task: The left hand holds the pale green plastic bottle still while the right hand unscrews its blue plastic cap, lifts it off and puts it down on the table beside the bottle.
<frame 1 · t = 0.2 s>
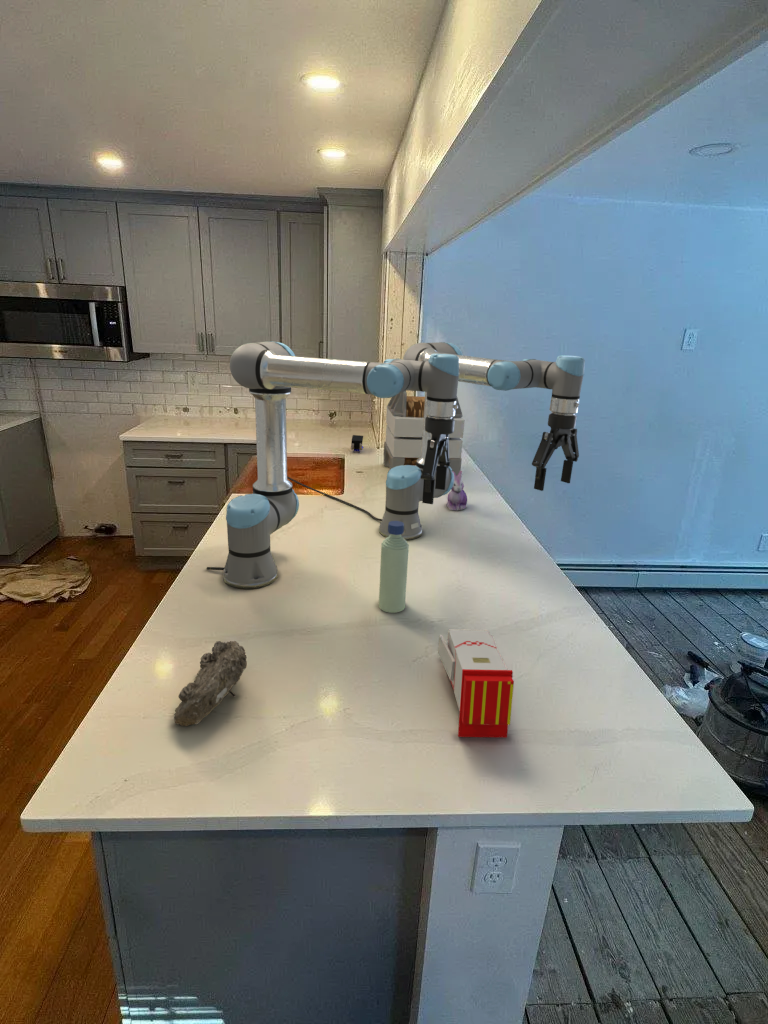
left hand: (434, 496, 152), 28 cm above the counter, tool pointing down, fingers open, 13 cm apart
right hand: (552, 485, 166), 28 cm above the counter, tool pointing down, fingers open, 13 cm apart
bottle: (391, 606, 151), on the counter
cap: (396, 524, 143), point 23 cm above the counter, screwed on, not yet turned
figurine: (456, 507, 229), on the counter
figurine character: (357, 450, 312), on the counter
fossil: (216, 694, 114), on the counter
toy: (469, 691, 119), on the counter
white slatted crate: (419, 473, 275), on the counter
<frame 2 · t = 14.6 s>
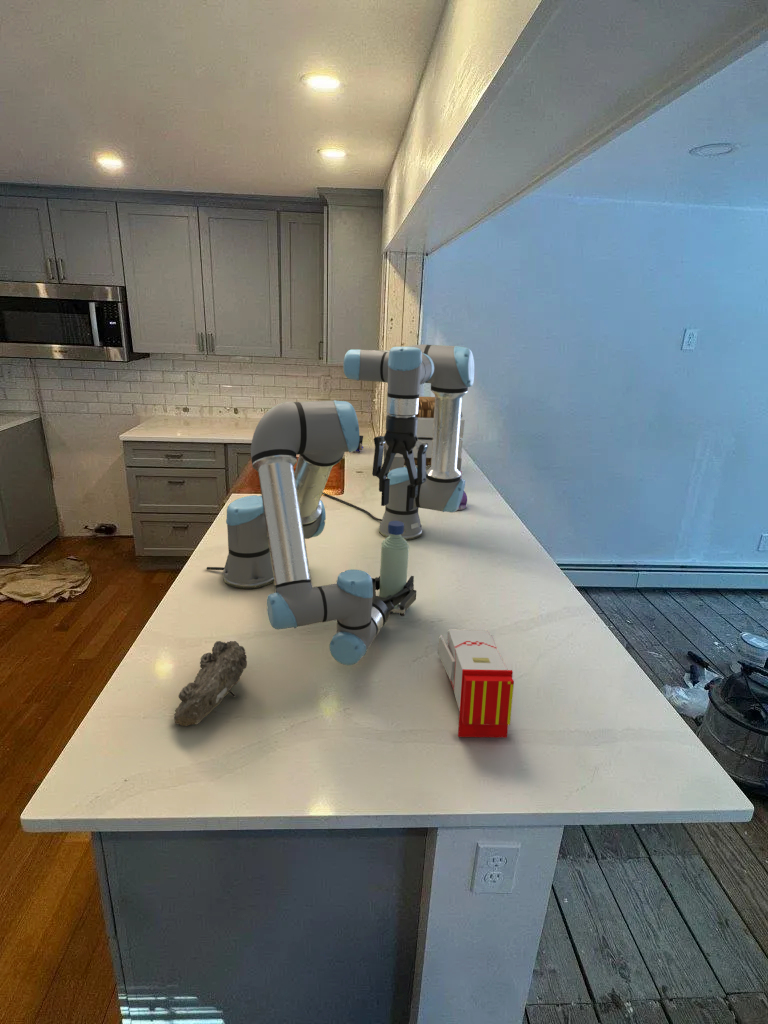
left hand: (398, 577, 154), 6 cm above the counter, tool horizontal, fingers closed on bottle, 7 cm apart
right hand: (397, 506, 142), 28 cm above the counter, tool pointing down, fingers open, 6 cm apart
bottle: (391, 606, 151), on the counter, touching left hand
everything else where it was.
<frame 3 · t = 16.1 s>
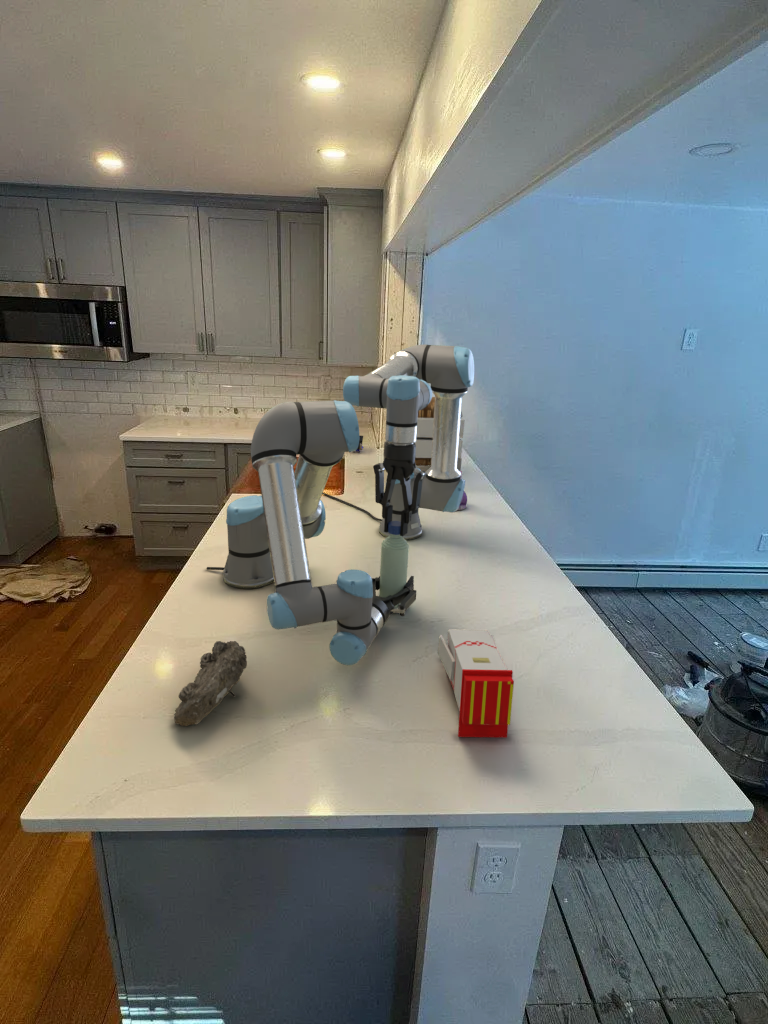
left hand: (398, 577, 154), 6 cm above the counter, tool horizontal, fingers closed on bottle, 7 cm apart
right hand: (395, 532, 144), 21 cm above the counter, tool pointing down, fingers closed on cap, 4 cm apart
bottle: (391, 606, 151), on the counter, touching left hand
cap: (396, 524, 143), point 23 cm above the counter, screwed on, not yet turned, touching right hand
everything else where it was.
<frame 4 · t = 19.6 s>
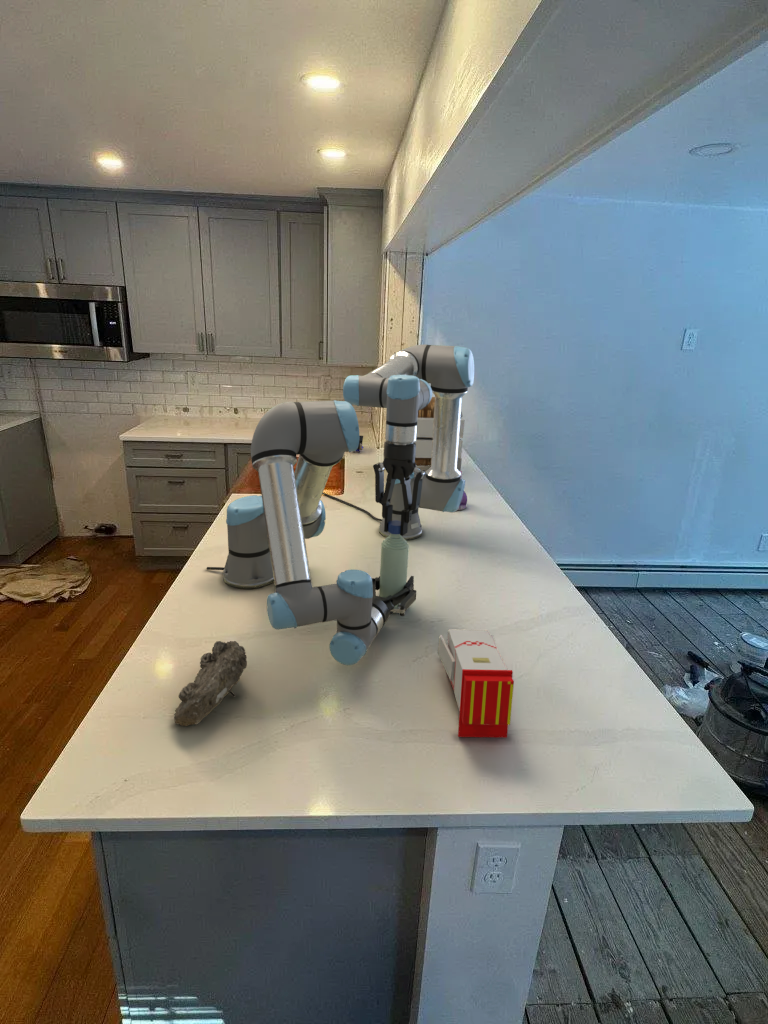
left hand: (398, 577, 154), 6 cm above the counter, tool horizontal, fingers closed on bottle, 7 cm apart
right hand: (395, 531, 144), 21 cm above the counter, tool pointing down, fingers closed on cap, 4 cm apart
bottle: (391, 606, 151), on the counter, touching left hand
cap: (396, 524, 143), point 23 cm above the counter, turned 129° so far, risen 0.1 cm, still on its thread, touching right hand
everything else where it was.
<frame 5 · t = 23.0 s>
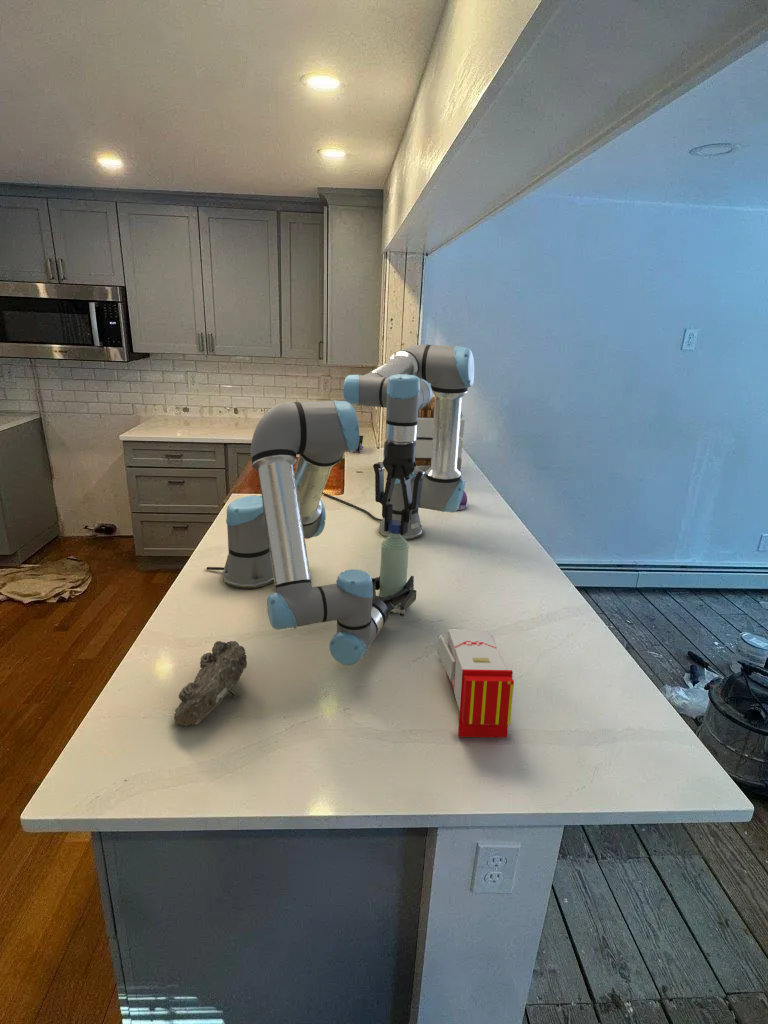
left hand: (398, 577, 154), 6 cm above the counter, tool horizontal, fingers closed on bottle, 7 cm apart
right hand: (395, 531, 144), 22 cm above the counter, tool pointing down, fingers closed on cap, 4 cm apart
bottle: (391, 606, 151), on the counter, touching left hand
cap: (396, 523, 143), point 24 cm above the counter, turned 257° so far, risen 0.3 cm, still on its thread, touching right hand
everything else where it was.
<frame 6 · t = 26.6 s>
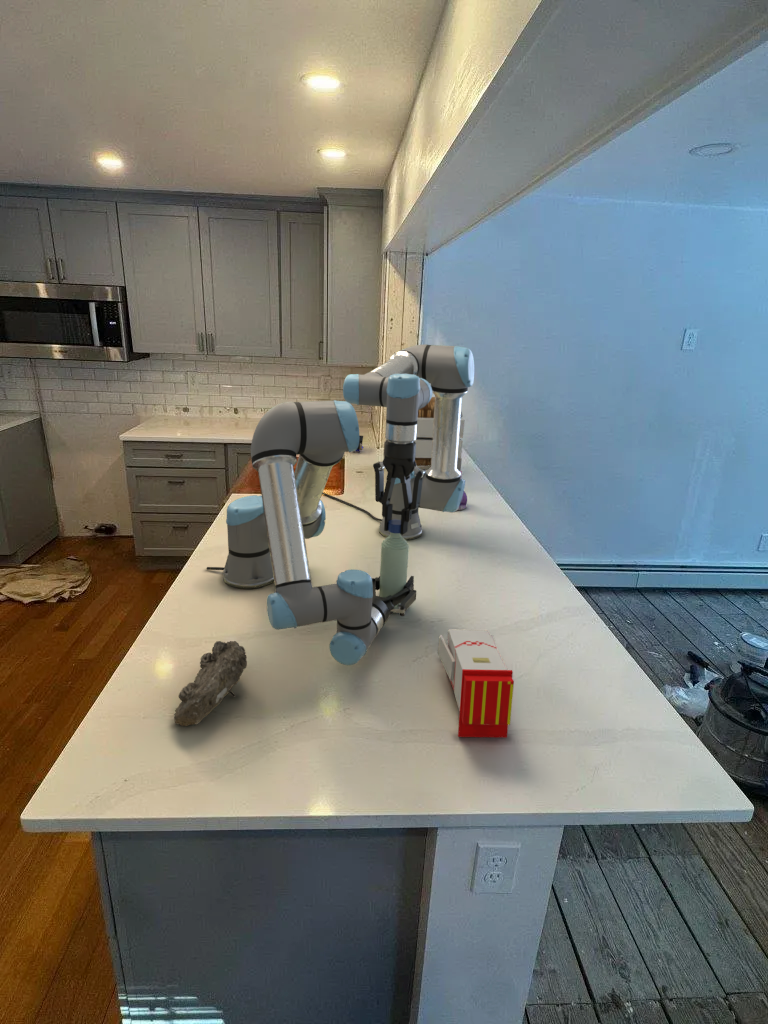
left hand: (398, 577, 154), 6 cm above the counter, tool horizontal, fingers closed on bottle, 7 cm apart
right hand: (395, 530, 144), 22 cm above the counter, tool pointing down, fingers closed on cap, 4 cm apart
bottle: (391, 606, 151), on the counter, touching left hand
cap: (396, 523, 143), point 24 cm above the counter, turned 386° so far, risen 0.4 cm, still on its thread, touching right hand
everything else where it was.
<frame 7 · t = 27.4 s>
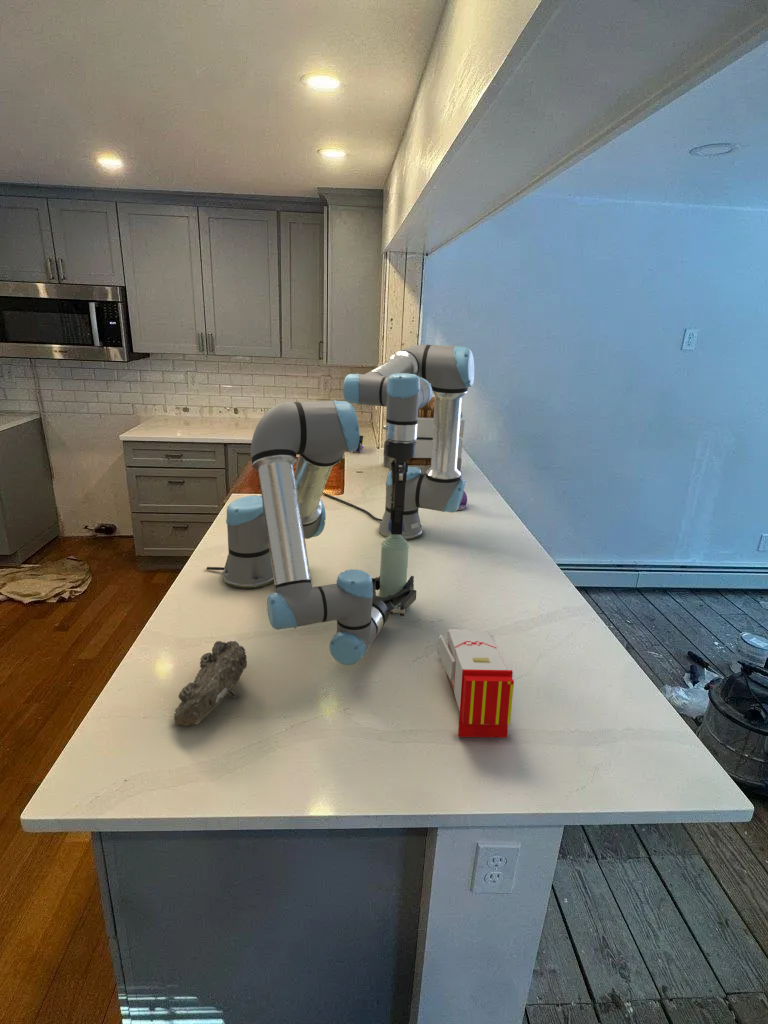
left hand: (398, 577, 154), 6 cm above the counter, tool horizontal, fingers closed on bottle, 7 cm apart
right hand: (395, 530, 144), 22 cm above the counter, tool pointing down, fingers closed on cap, 4 cm apart
bottle: (391, 606, 151), on the counter, touching left hand
cap: (396, 522, 143), point 24 cm above the counter, off its thread, touching right hand
everything else where it was.
when the right hand's fingers open (1 cm above the counter, at t = 34.7 s): cap drops 1 cm, point 2 cm above the counter.
when the left hand's fingers open (6 cm above the counter, at t = 35.9 s): bottle stays where it is, on the counter.
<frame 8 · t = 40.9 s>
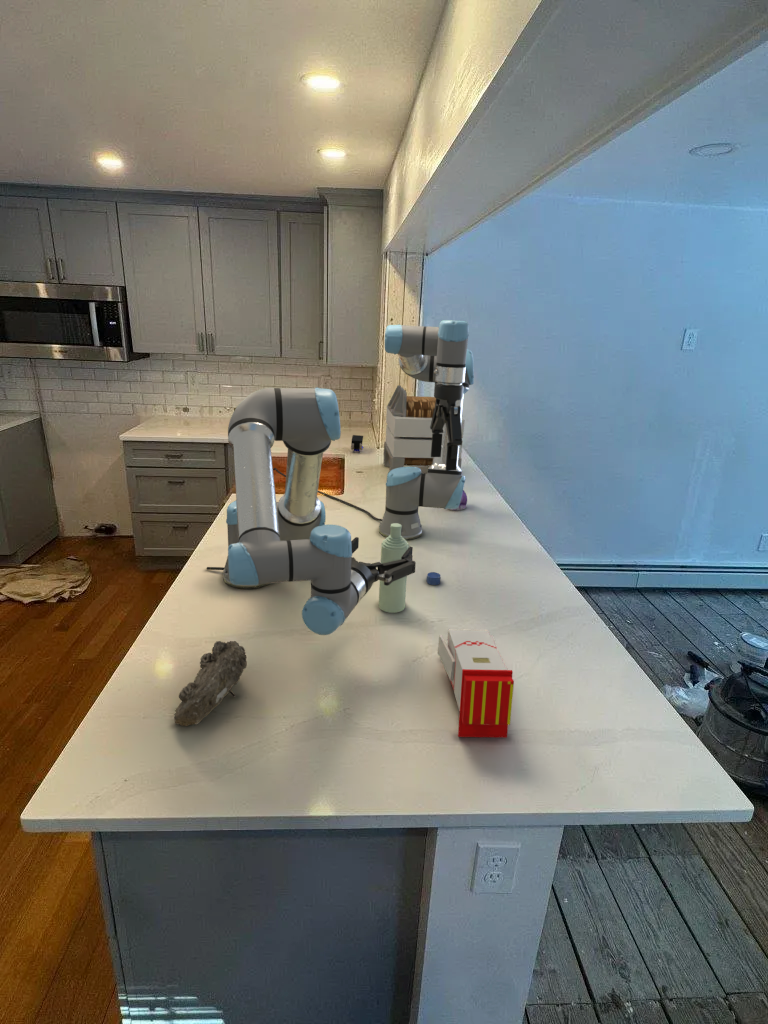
left hand: (383, 547, 136), 21 cm above the counter, tool horizontal, fingers open, 13 cm apart
right hand: (442, 463, 153), 36 cm above the counter, tool pointing down, fingers open, 13 cm apart
bottle: (391, 606, 151), on the counter
cap: (433, 575, 165), point 2 cm above the counter, off its thread
everything else where it was.
at the end: cap came off its thread; cap point 2.0 cm above the counter; the left hand is holding nothing; the right hand is holding nothing; bottle tilted 0°; bottle moved 0.0 cm from its start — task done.
